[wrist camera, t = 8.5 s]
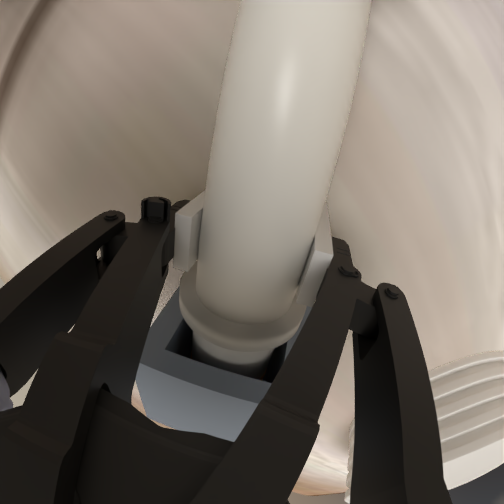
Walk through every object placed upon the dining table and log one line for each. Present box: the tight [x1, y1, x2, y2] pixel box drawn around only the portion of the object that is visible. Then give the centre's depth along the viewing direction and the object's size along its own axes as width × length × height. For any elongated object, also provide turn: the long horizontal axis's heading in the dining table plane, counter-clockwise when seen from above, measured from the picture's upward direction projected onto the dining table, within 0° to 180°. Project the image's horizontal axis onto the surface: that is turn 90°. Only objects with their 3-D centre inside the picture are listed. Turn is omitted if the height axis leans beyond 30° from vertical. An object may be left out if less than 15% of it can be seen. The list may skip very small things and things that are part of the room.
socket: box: [135, 286, 312, 442], centre depth 18 cm, size 8×9×10 cm
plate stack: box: [345, 351, 504, 504], centre depth 21 cm, size 28×28×12 cm
